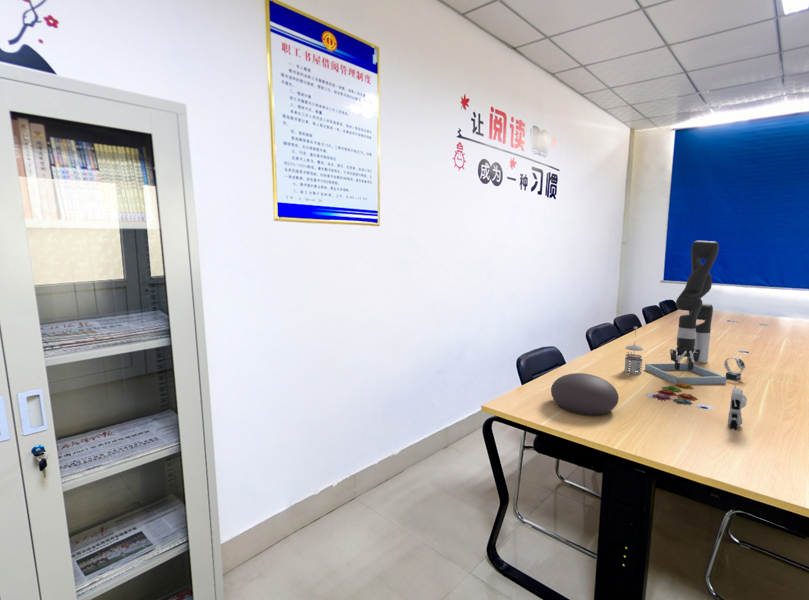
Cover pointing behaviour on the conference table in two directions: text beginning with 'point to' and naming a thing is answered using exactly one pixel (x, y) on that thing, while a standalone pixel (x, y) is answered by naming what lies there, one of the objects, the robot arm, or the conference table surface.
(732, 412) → the robot toy
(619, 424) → the conference table surface
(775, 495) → the conference table surface
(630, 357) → the french press
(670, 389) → the gear puzzle
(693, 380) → the grey flat square frame
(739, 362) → the watch
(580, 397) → the smooth stone
